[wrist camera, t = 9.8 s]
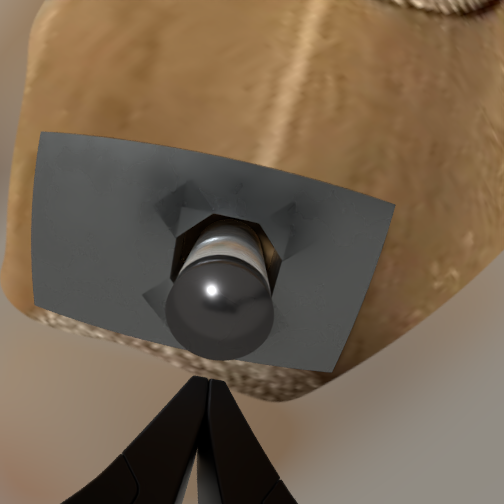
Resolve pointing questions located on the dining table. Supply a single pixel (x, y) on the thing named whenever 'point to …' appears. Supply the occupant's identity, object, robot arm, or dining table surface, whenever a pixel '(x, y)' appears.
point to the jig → (172, 235)
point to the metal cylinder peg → (222, 294)
